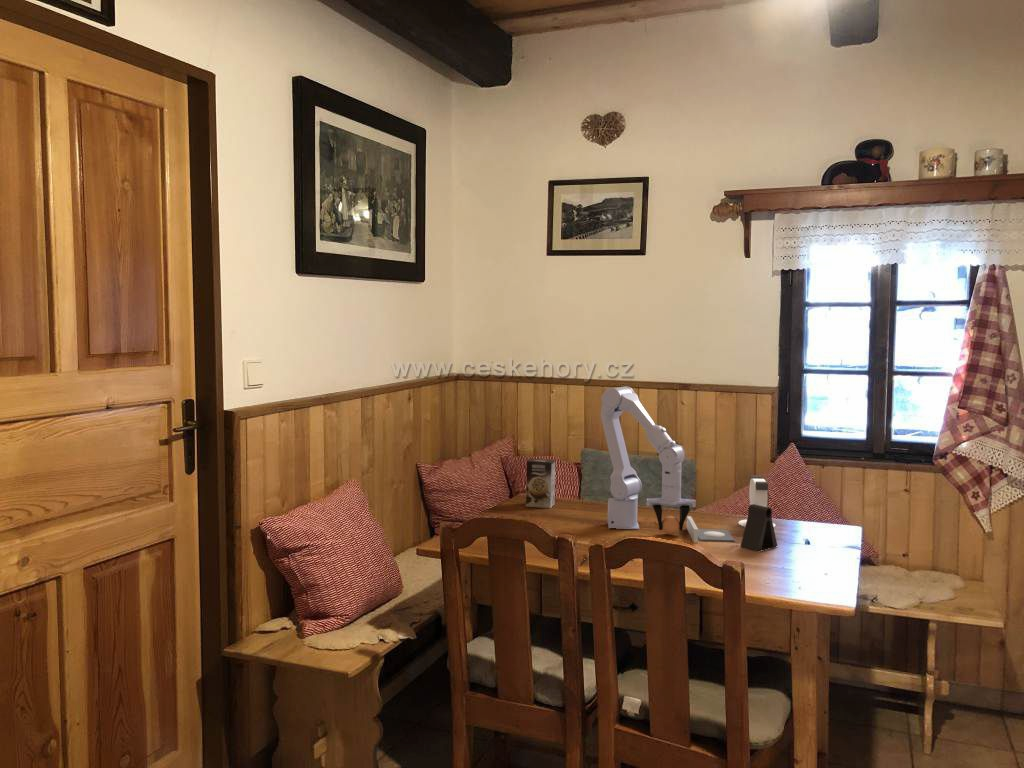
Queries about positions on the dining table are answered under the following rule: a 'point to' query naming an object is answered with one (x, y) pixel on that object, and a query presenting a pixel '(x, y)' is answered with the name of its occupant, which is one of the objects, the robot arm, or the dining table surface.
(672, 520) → the ball
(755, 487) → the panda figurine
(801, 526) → the dining table surface
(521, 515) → the dining table surface
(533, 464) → the coffee box
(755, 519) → the phone stand
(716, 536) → the mat
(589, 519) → the dining table surface
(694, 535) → the fence
